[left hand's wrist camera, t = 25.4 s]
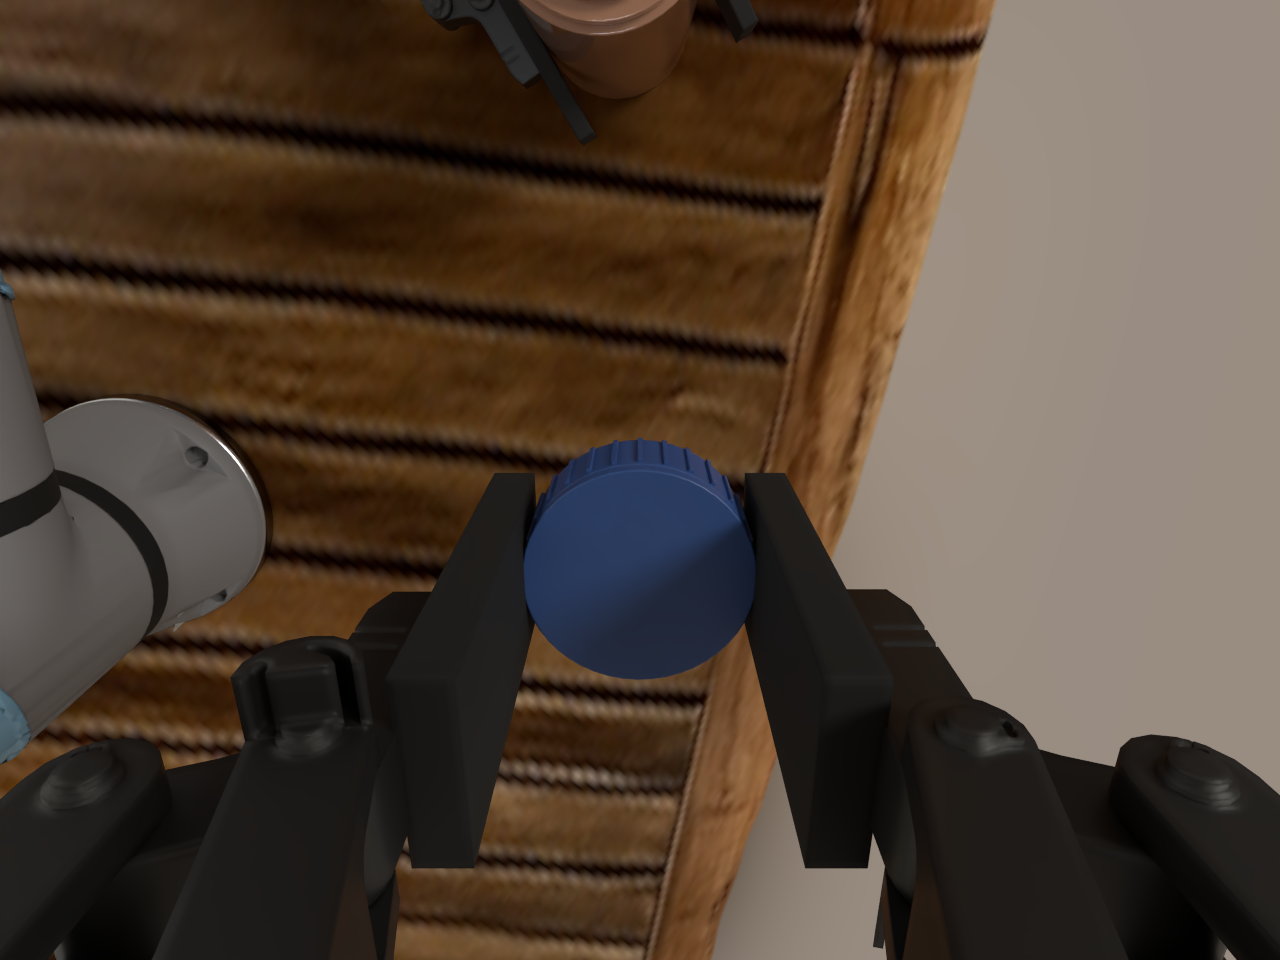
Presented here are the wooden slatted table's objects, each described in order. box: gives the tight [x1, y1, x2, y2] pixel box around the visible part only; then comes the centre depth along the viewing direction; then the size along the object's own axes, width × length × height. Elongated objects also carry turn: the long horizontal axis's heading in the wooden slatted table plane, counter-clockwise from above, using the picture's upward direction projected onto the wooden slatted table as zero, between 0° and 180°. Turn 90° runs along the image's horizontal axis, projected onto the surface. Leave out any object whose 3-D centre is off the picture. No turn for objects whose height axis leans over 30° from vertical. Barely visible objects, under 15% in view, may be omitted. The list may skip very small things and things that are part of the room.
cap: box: [523, 438, 756, 680], centre depth 14 cm, size 4×4×2 cm
